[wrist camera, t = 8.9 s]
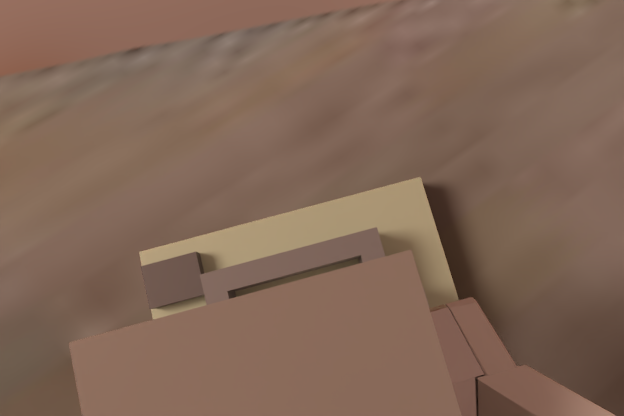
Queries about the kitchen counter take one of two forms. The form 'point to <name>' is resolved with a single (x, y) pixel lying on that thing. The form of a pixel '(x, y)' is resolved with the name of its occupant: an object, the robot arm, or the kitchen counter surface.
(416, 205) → the board
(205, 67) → the kitchen counter surface
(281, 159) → the kitchen counter surface
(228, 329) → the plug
